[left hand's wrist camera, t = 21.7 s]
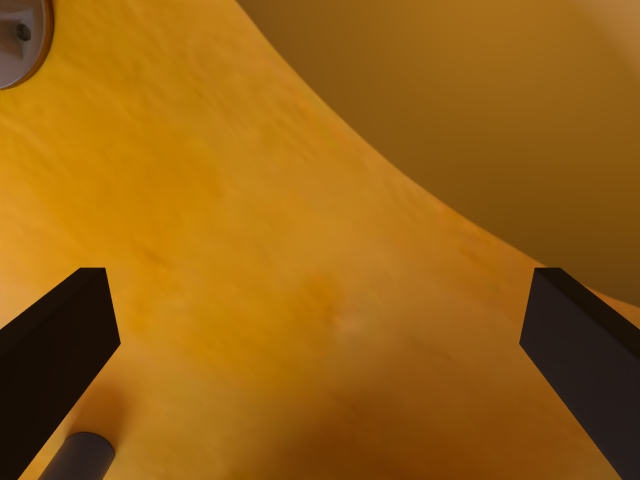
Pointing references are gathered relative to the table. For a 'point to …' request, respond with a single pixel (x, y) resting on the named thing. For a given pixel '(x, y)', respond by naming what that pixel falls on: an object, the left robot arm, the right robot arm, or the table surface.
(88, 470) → the cylinder
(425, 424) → the table surface
